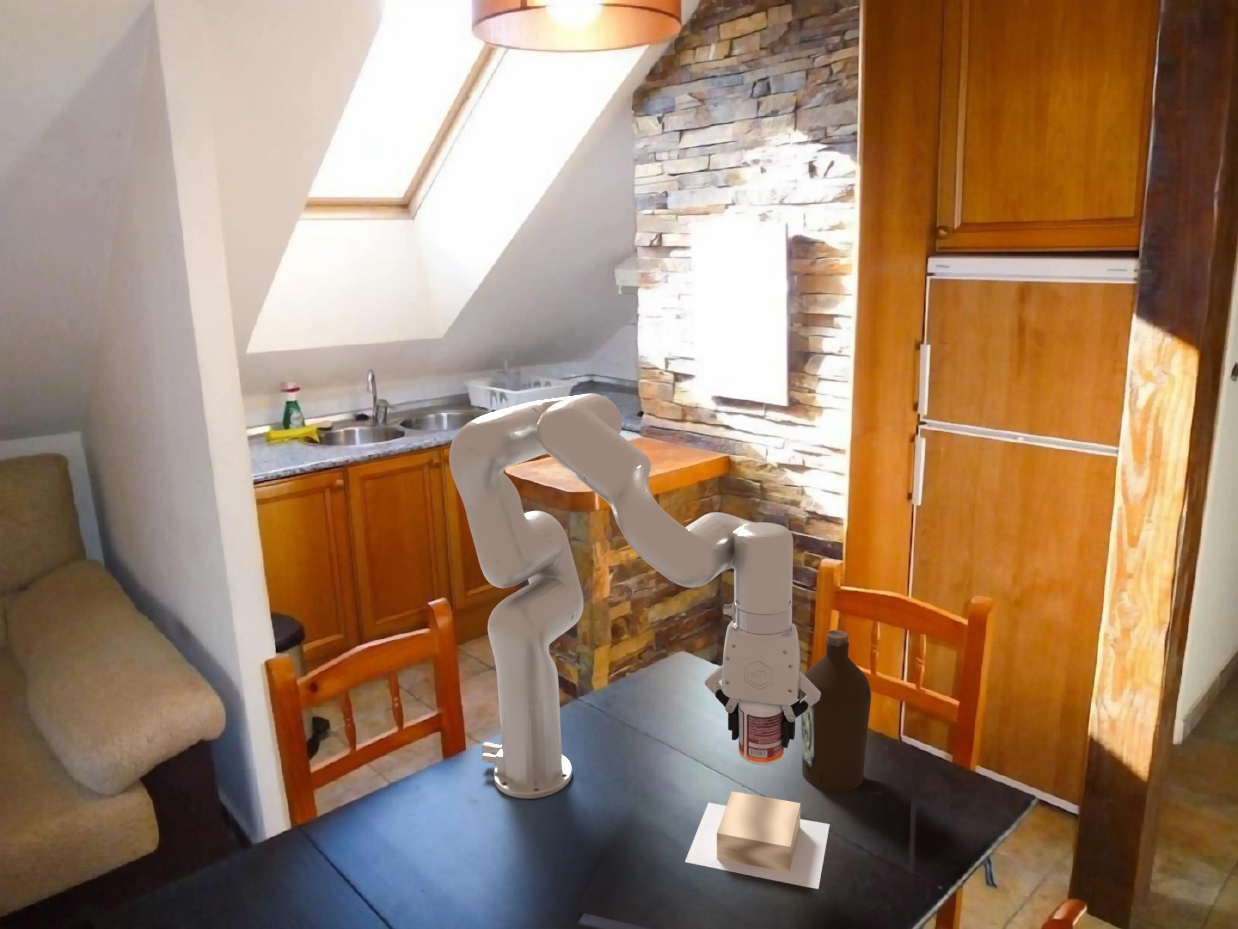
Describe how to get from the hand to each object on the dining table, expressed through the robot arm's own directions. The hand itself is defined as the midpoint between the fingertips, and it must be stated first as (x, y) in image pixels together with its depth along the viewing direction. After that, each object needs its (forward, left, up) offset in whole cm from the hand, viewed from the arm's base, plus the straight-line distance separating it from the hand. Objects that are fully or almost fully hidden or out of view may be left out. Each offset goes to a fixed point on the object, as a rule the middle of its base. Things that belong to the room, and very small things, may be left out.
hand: (761, 737), depth 123 cm
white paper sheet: (0, 0, -18) cm, 18 cm away
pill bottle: (0, 0, -3) cm, 3 cm away
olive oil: (+8, +20, -18) cm, 28 cm away
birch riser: (0, 0, -16) cm, 17 cm away
